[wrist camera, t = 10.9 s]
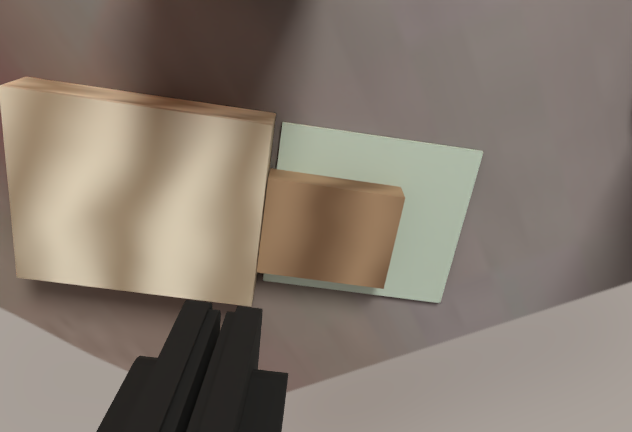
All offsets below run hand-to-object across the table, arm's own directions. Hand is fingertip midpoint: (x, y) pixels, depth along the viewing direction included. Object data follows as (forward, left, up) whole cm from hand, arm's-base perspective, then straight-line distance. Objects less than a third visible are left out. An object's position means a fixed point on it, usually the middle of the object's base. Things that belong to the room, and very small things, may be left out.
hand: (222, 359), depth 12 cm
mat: (-7, +7, -25) cm, 27 cm away
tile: (-4, +8, -25) cm, 26 cm away
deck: (+9, +7, -25) cm, 27 cm away
